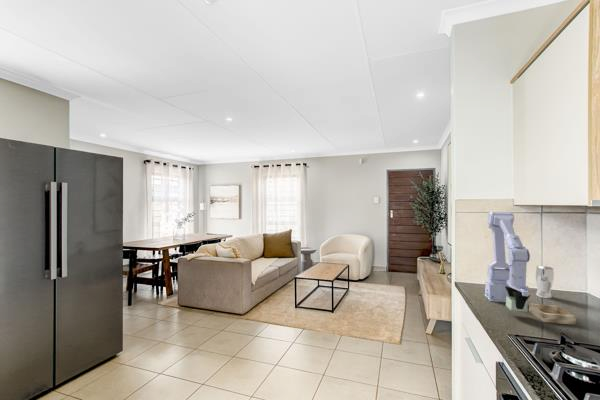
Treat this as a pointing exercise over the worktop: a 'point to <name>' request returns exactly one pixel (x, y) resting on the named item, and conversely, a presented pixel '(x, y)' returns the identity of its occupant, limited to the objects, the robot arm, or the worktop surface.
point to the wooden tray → (552, 314)
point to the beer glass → (544, 281)
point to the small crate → (512, 305)
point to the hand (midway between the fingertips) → (516, 306)
